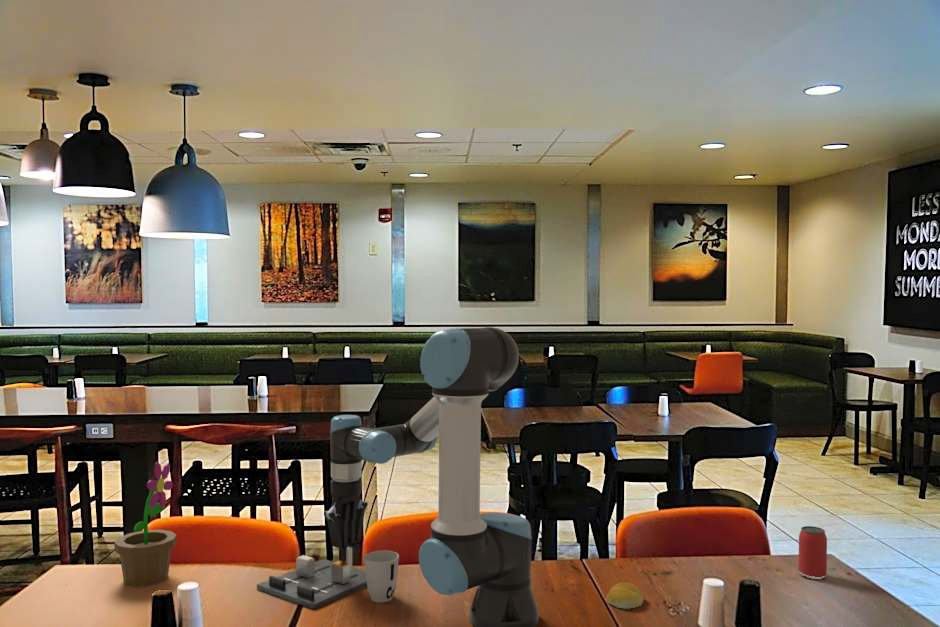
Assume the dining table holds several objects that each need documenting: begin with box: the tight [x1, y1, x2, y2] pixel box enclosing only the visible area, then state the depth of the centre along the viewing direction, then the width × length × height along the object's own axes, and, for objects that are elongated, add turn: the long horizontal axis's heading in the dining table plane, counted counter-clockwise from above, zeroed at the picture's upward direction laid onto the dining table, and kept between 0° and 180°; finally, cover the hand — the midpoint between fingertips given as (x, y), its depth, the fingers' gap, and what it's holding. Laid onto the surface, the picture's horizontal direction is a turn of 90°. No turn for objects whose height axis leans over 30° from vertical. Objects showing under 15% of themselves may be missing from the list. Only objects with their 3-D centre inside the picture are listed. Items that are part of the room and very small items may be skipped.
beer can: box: [798, 525, 828, 577], centre depth 195 cm, size 7×7×12 cm
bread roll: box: [605, 582, 644, 610], centre depth 178 cm, size 8×9×4 cm
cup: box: [363, 550, 400, 603], centre depth 179 cm, size 8×8×10 cm
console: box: [256, 558, 367, 610], centre depth 188 cm, size 20×22×3 cm
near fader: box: [331, 560, 350, 584], centre depth 187 cm, size 4×2×4 cm, turn 54°
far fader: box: [295, 554, 315, 578], centre depth 190 cm, size 4×2×4 cm, turn 54°
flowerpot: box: [113, 461, 177, 587], centre depth 191 cm, size 14×14×30 cm
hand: (346, 573), depth 188 cm, fingers closed
